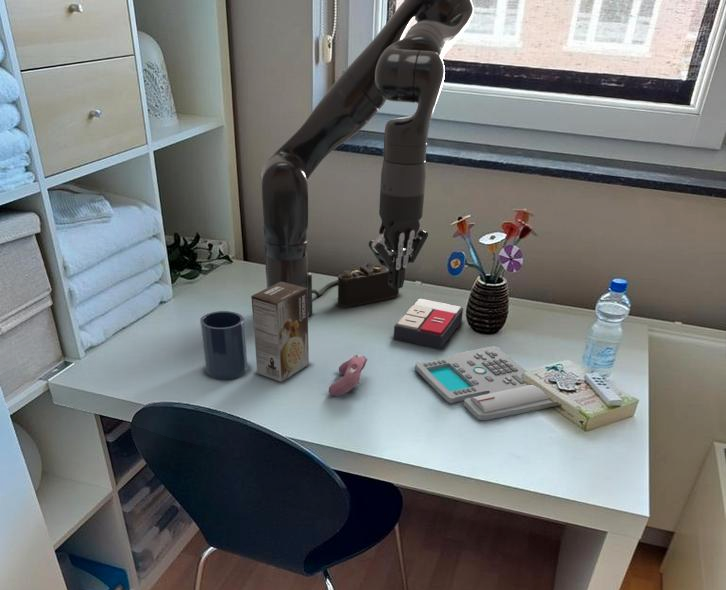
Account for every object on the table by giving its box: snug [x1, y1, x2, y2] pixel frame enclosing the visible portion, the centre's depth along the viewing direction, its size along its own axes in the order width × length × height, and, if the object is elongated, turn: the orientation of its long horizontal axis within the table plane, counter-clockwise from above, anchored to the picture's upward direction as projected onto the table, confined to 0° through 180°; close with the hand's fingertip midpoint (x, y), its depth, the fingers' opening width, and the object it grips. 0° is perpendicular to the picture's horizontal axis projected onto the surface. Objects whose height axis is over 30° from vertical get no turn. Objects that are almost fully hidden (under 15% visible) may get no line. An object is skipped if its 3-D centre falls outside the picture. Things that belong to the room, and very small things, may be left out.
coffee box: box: [250, 282, 310, 383], centre depth 129 cm, size 9×6×16 cm
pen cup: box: [199, 310, 248, 381], centre depth 130 cm, size 8×8×10 cm
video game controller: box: [328, 353, 368, 397], centre depth 128 cm, size 10×5×7 cm, turn 168°
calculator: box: [393, 298, 464, 350], centre depth 150 cm, size 11×4×15 cm
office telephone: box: [414, 345, 562, 421], centre depth 131 cm, size 23×3×20 cm
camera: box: [337, 265, 400, 308], centre depth 162 cm, size 16×7×8 cm, turn 120°
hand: (395, 287), depth 126 cm, fingers closed
